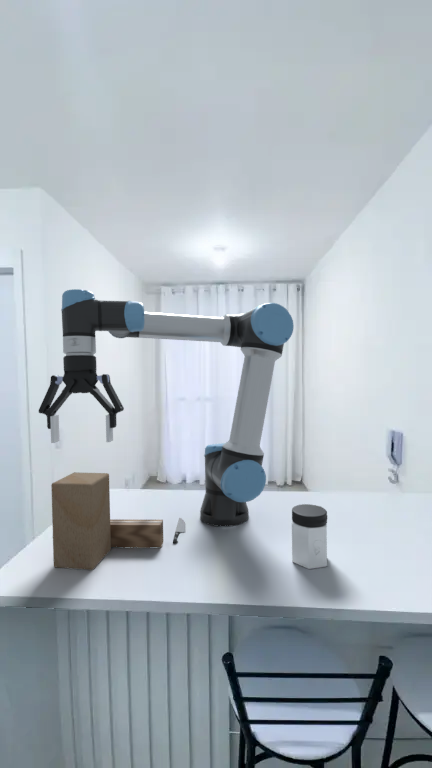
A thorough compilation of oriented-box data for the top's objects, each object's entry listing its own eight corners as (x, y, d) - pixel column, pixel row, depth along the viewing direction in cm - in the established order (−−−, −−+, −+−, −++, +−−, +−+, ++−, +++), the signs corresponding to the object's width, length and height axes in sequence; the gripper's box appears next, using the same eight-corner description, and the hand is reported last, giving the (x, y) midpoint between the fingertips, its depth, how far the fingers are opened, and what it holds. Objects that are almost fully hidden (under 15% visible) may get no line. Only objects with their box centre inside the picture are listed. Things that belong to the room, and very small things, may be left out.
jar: (300, 571, 81) (299, 518, 81) (285, 554, 89) (284, 505, 89) (336, 566, 83) (335, 514, 83) (318, 549, 91) (317, 502, 91)
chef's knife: (188, 518, 114) (179, 517, 114) (189, 514, 114) (179, 513, 114) (183, 546, 95) (172, 545, 95) (183, 541, 95) (172, 541, 95)
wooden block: (92, 570, 83) (90, 484, 83) (52, 568, 84) (50, 483, 84) (111, 549, 93) (109, 472, 92) (75, 547, 94) (73, 471, 94)
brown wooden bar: (163, 541, 97) (162, 519, 97) (160, 547, 93) (160, 524, 93) (75, 541, 98) (75, 518, 98) (70, 547, 95) (69, 524, 94)
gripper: (21, 355, 85) (24, 445, 85) (125, 352, 84) (128, 443, 84) (38, 357, 92) (40, 439, 93) (134, 354, 91) (136, 438, 92)
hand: (82, 441), depth 89 cm, fingers open, 13 cm apart
